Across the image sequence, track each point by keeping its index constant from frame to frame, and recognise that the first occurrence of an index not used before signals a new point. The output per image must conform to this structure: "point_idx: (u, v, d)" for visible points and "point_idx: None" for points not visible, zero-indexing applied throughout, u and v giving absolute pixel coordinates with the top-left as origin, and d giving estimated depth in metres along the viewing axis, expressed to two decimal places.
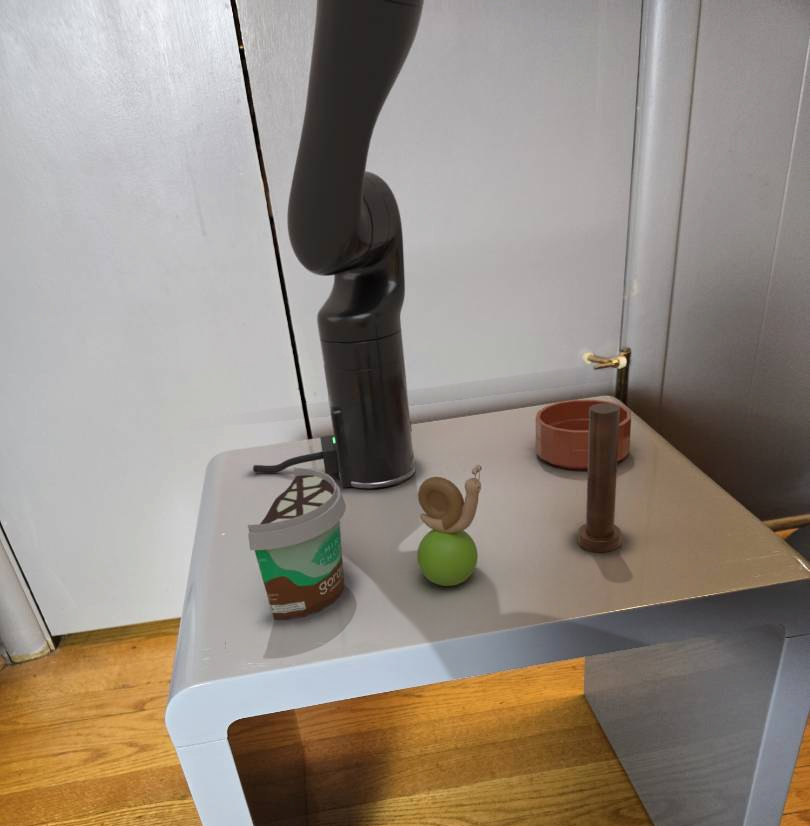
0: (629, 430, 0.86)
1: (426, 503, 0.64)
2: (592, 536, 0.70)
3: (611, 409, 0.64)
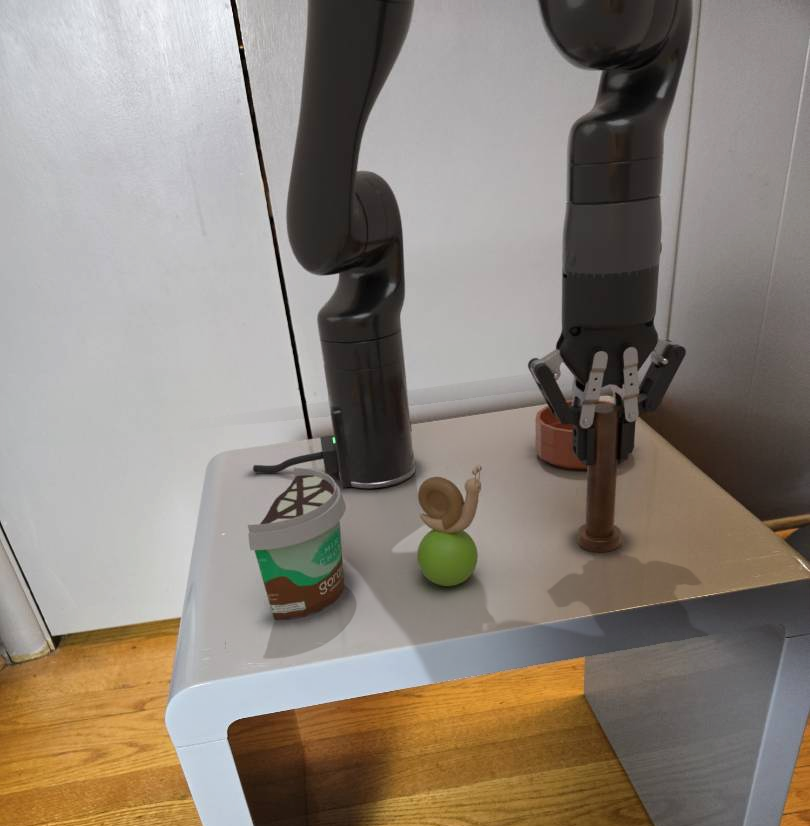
0: None
1: (426, 503, 0.64)
2: (592, 536, 0.70)
3: (611, 409, 0.64)
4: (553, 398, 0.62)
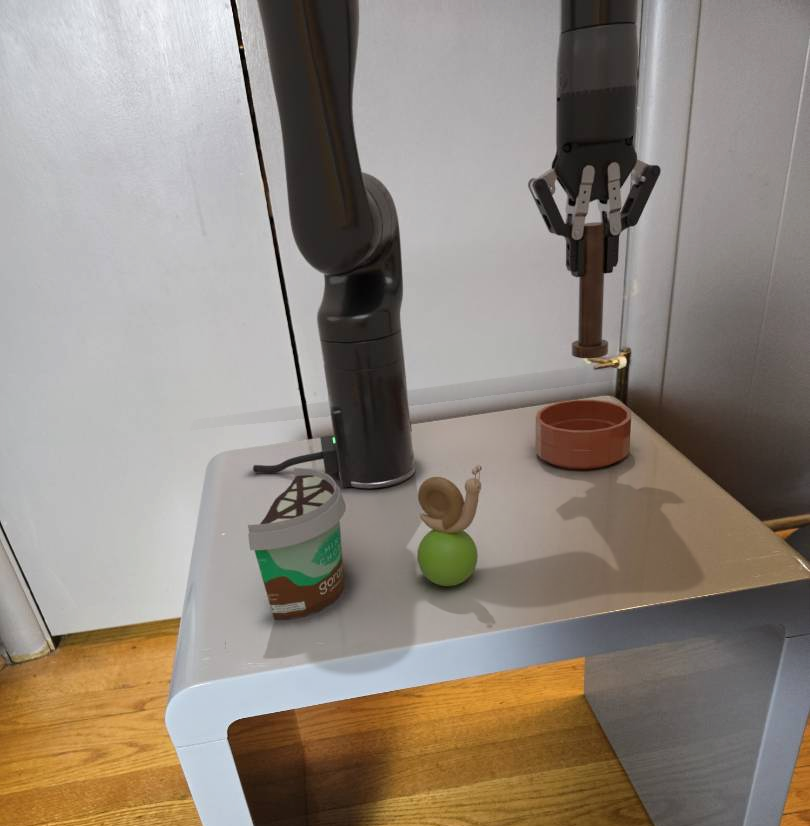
0: (629, 430, 0.86)
1: (426, 503, 0.64)
2: (583, 345, 0.82)
3: (599, 224, 0.76)
4: (549, 210, 0.74)
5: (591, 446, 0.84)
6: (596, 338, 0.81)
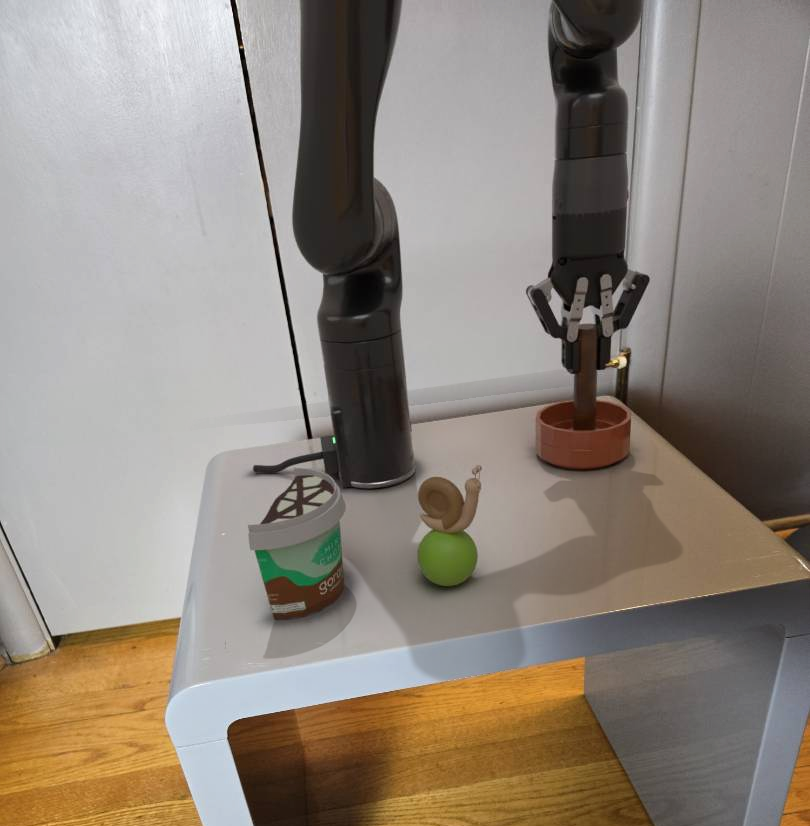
0: (629, 430, 0.86)
1: (426, 503, 0.64)
2: None
3: (592, 326, 0.81)
4: (546, 316, 0.79)
5: (591, 446, 0.84)
6: (590, 428, 0.86)
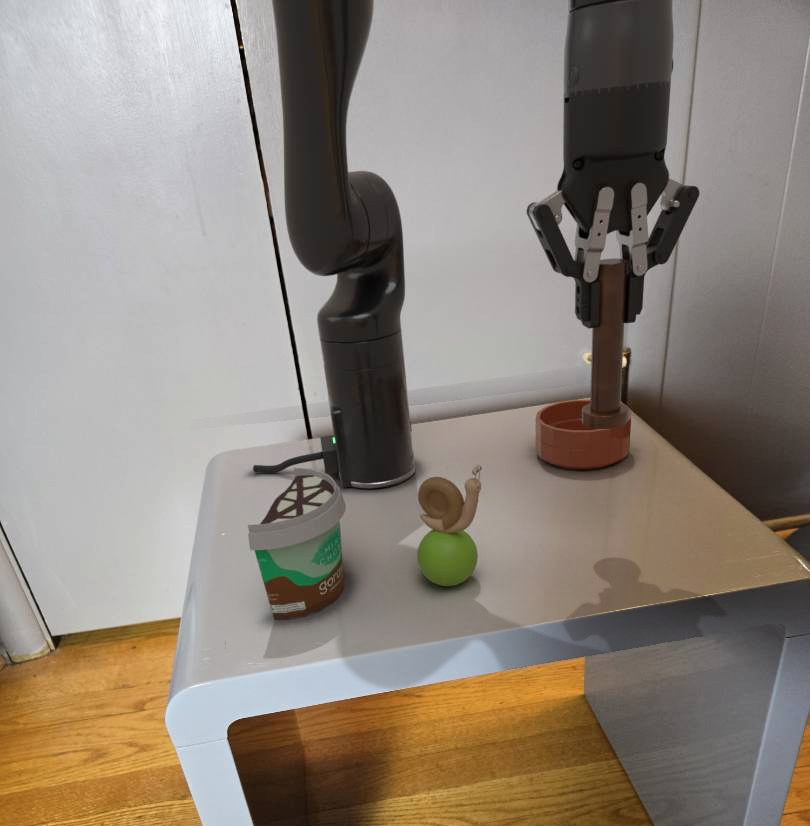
0: (629, 430, 0.86)
1: (426, 503, 0.64)
2: (597, 412, 0.65)
3: (618, 261, 0.59)
4: (554, 245, 0.57)
5: (591, 446, 0.84)
6: (613, 404, 0.64)
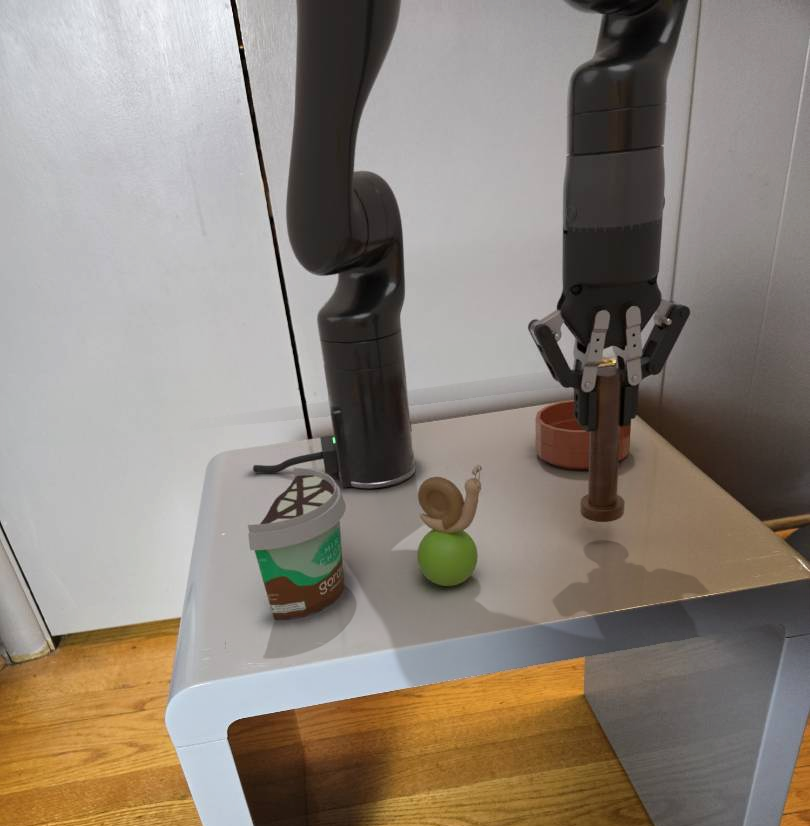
0: (629, 430, 0.86)
1: (426, 503, 0.64)
2: (594, 505, 0.68)
3: (614, 372, 0.63)
4: (554, 360, 0.61)
5: None
6: (610, 499, 0.68)
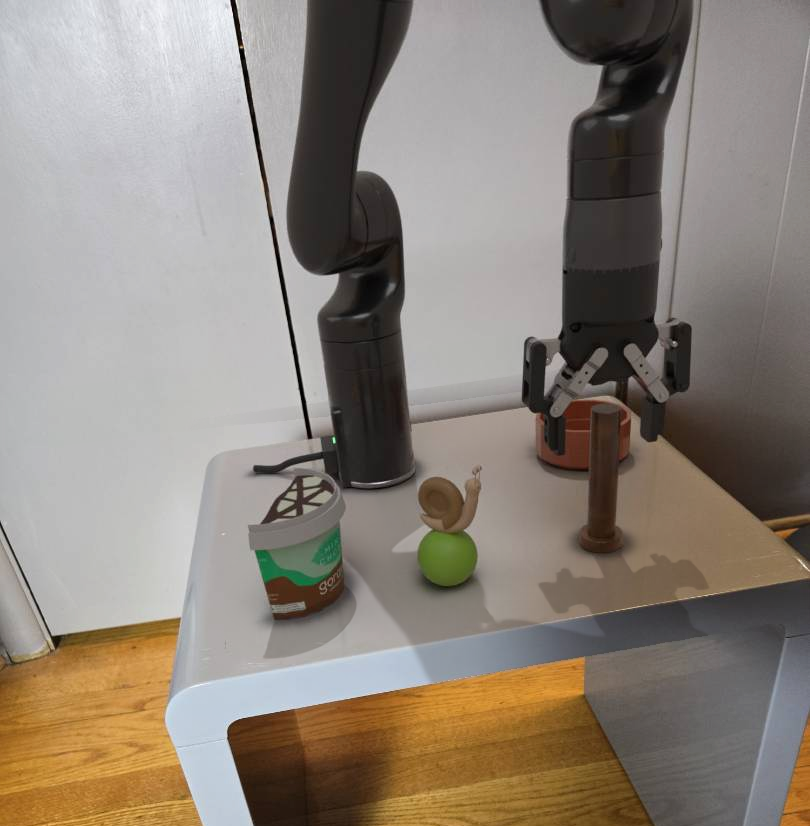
0: (629, 430, 0.86)
1: (426, 503, 0.64)
2: (593, 536, 0.70)
3: (613, 409, 0.64)
4: (535, 381, 0.61)
5: None
6: (609, 530, 0.69)
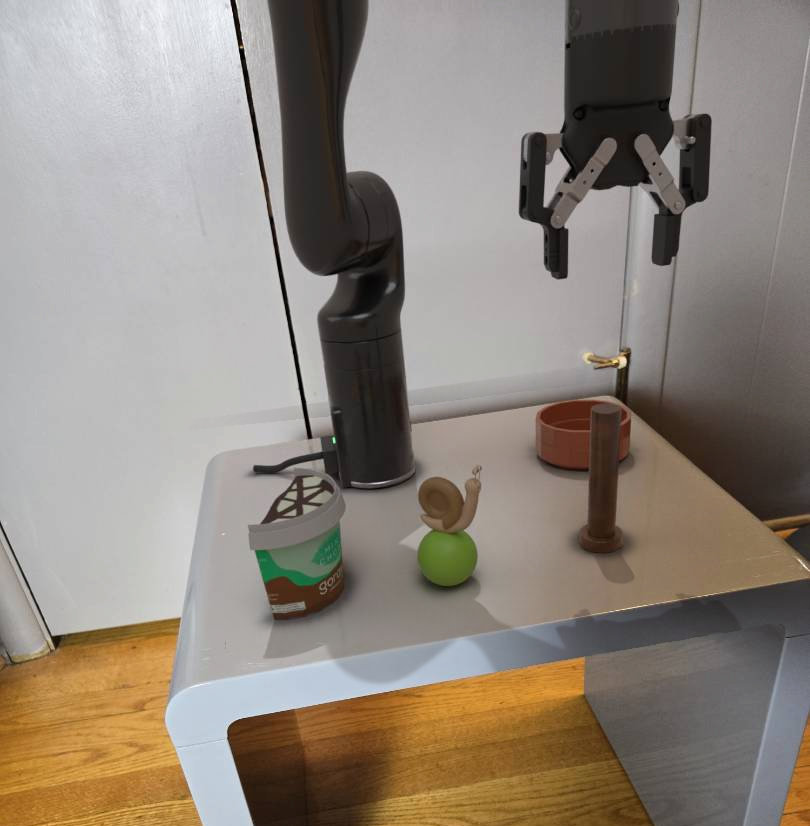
0: (629, 430, 0.86)
1: (426, 503, 0.64)
2: (593, 536, 0.70)
3: (613, 409, 0.64)
4: (533, 180, 0.54)
5: None
6: (609, 530, 0.69)
